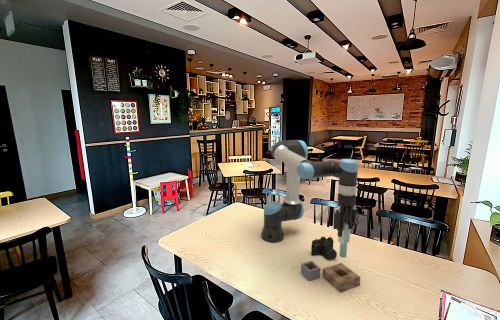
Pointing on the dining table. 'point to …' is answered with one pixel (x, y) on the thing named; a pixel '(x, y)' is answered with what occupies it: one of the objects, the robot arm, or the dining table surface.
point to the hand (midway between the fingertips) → (343, 241)
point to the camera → (324, 248)
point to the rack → (341, 277)
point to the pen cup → (310, 270)
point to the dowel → (344, 246)
